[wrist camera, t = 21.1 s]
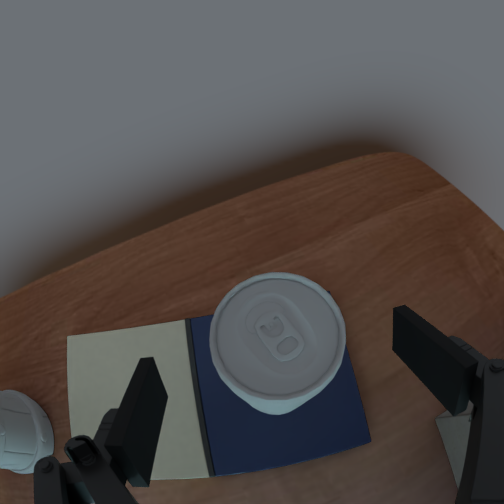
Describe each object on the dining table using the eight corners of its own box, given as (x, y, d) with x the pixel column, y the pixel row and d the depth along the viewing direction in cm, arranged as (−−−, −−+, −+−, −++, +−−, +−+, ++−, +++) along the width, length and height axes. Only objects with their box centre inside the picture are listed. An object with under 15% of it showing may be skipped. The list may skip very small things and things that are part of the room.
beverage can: (281, 335, 22) (290, 245, 12) (323, 387, 20) (378, 343, 10) (226, 374, 21) (179, 317, 11) (266, 428, 19) (260, 434, 8)
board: (327, 294, 24) (329, 289, 24) (368, 441, 18) (372, 442, 17) (71, 338, 23) (66, 335, 22) (81, 474, 17) (75, 475, 16)
